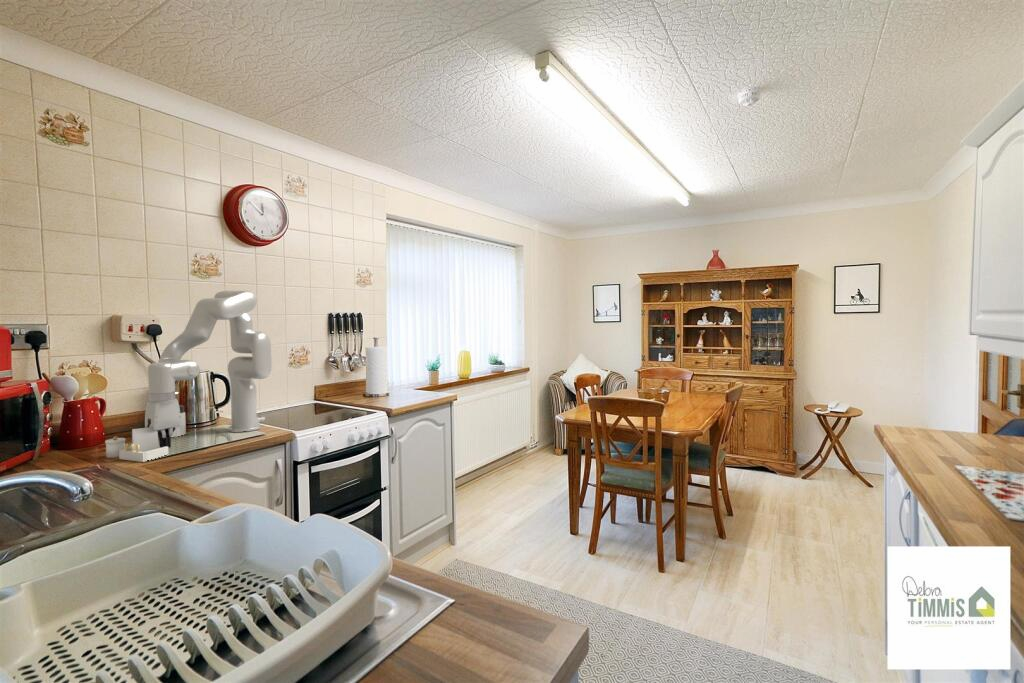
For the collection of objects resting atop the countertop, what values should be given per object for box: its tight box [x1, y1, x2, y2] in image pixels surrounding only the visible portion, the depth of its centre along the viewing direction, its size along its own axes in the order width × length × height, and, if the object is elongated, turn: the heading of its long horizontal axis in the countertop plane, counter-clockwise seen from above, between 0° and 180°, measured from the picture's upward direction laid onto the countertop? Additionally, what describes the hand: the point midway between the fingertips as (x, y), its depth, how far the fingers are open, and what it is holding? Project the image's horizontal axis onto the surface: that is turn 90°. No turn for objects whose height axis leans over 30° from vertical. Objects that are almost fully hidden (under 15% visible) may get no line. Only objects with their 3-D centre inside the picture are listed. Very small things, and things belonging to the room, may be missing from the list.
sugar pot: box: [104, 436, 126, 459], centre depth 163 cm, size 5×5×7 cm
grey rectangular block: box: [131, 427, 159, 452], centre depth 162 cm, size 4×7×10 cm, turn 136°
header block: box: [118, 442, 169, 463], centre depth 161 cm, size 8×11×5 cm
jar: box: [171, 404, 187, 438], centre depth 191 cm, size 9×8×12 cm
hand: (165, 447), depth 168 cm, fingers closed
